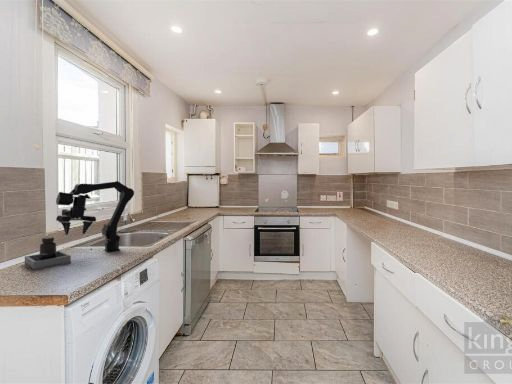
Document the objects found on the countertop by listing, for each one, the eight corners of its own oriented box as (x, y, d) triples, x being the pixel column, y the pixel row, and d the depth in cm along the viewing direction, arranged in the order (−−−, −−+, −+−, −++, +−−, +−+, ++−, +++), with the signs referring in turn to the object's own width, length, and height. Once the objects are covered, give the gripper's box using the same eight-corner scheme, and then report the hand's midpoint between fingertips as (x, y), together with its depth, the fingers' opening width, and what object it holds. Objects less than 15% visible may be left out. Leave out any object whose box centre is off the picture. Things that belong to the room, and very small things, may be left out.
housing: (60, 257, 150) (60, 250, 149) (70, 263, 140) (70, 255, 140) (24, 264, 138) (24, 256, 138) (33, 270, 129) (33, 262, 128)
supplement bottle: (40, 264, 134) (39, 239, 134) (38, 261, 139) (38, 237, 139) (57, 261, 139) (57, 237, 138) (55, 258, 144) (55, 235, 143)
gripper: (85, 205, 165) (82, 231, 164) (52, 203, 148) (47, 233, 147) (98, 207, 160) (94, 234, 159) (64, 205, 143) (60, 236, 142)
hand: (75, 234), depth 152 cm, fingers open, 9 cm apart
